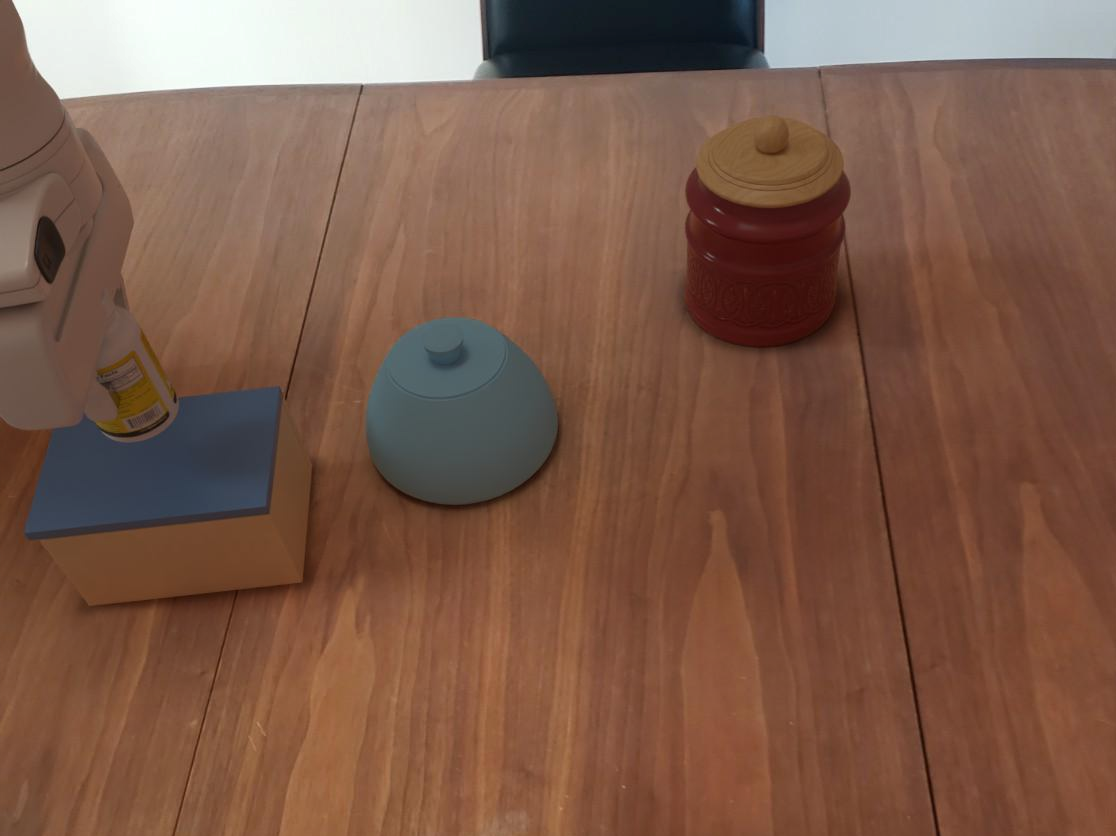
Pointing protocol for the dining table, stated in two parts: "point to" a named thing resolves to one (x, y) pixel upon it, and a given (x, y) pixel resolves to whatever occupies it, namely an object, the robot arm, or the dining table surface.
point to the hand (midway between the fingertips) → (116, 376)
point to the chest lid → (162, 469)
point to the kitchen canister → (765, 231)
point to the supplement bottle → (133, 379)
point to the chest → (200, 544)
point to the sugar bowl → (459, 413)
